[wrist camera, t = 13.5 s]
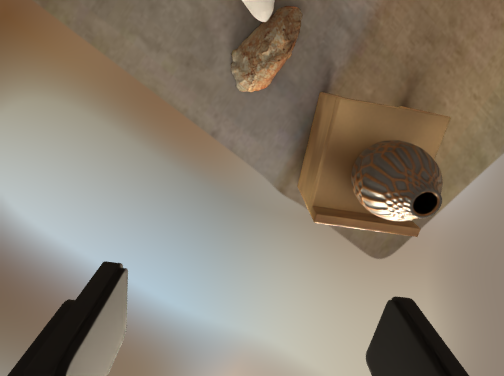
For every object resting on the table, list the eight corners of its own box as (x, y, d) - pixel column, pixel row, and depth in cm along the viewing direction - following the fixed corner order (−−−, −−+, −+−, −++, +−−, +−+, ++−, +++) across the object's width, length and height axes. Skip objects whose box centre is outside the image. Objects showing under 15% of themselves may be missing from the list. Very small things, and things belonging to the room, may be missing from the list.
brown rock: (310, 28, 34) (282, -9, 31) (325, 32, 31) (296, -9, 28) (247, 98, 37) (217, 68, 34) (255, 107, 34) (223, 76, 31)
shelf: (319, 91, 35) (347, 99, 26) (408, 107, 36) (466, 120, 27) (297, 186, 40) (314, 222, 30) (377, 198, 40) (417, 237, 31)
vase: (416, 185, 31) (478, 227, 23) (351, 208, 32) (389, 256, 24) (404, 122, 29) (468, 144, 21) (334, 149, 30) (369, 179, 21)
